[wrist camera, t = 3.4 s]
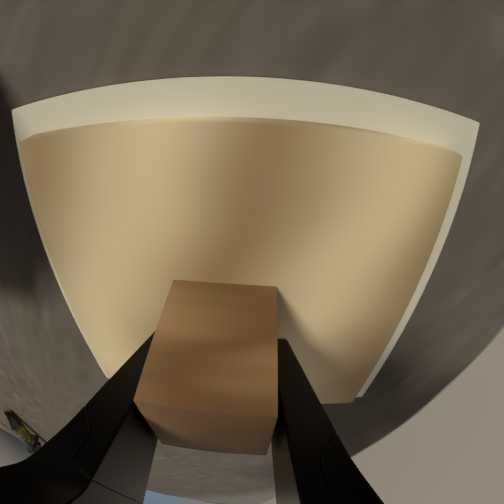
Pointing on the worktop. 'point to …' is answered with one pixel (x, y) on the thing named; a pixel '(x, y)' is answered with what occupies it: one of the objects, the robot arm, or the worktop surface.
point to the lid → (236, 256)
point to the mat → (261, 106)
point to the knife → (23, 432)
